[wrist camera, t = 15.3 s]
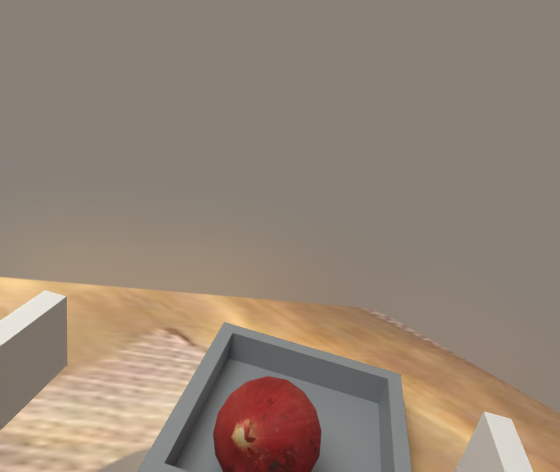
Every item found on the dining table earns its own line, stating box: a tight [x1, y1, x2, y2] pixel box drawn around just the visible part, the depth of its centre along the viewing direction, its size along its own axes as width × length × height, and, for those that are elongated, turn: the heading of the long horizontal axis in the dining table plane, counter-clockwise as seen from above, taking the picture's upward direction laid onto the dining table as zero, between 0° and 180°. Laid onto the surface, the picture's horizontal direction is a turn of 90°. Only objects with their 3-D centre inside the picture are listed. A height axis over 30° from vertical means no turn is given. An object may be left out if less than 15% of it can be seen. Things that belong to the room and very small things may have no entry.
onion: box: [213, 376, 322, 472], centre depth 23 cm, size 6×6×8 cm
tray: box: [137, 322, 412, 472], centre depth 27 cm, size 14×14×3 cm
